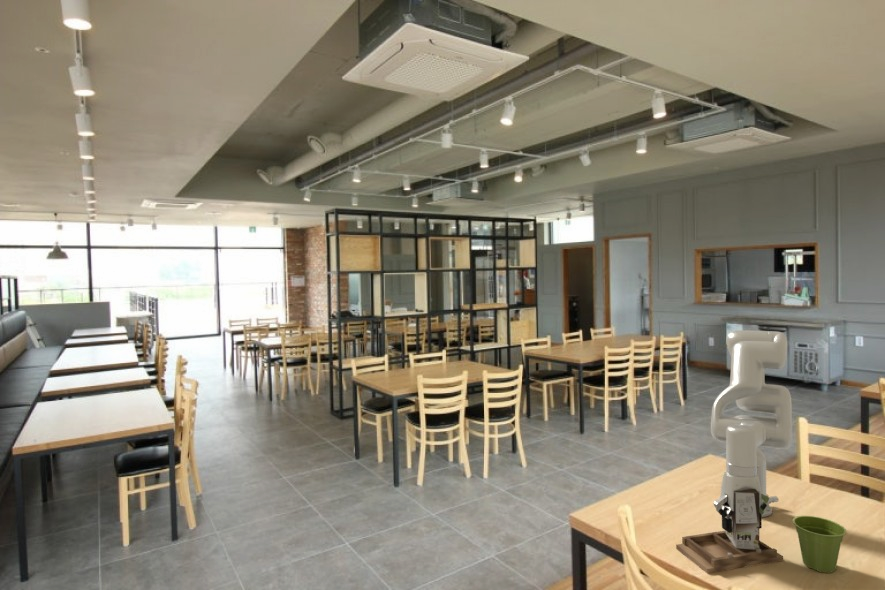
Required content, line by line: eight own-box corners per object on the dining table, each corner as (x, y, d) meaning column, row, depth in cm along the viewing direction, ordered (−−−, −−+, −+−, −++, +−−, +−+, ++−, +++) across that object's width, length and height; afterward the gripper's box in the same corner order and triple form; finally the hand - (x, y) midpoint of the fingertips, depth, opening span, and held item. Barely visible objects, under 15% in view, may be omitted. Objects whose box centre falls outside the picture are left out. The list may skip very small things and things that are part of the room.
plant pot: (858, 574, 138) (858, 532, 138) (820, 581, 136) (820, 538, 135) (817, 551, 150) (817, 512, 149) (782, 557, 147) (782, 518, 147)
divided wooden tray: (747, 537, 158) (746, 524, 158) (783, 560, 146) (783, 546, 145) (676, 548, 154) (676, 535, 153) (707, 573, 141) (707, 558, 141)
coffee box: (760, 550, 145) (760, 493, 144) (735, 548, 146) (734, 492, 146) (748, 534, 154) (747, 480, 153) (724, 532, 155) (724, 479, 155)
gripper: (756, 461, 155) (757, 518, 155) (705, 467, 151) (706, 526, 152) (778, 470, 147) (778, 530, 148) (724, 477, 144) (724, 538, 145)
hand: (741, 528), depth 150 cm, fingers open, 9 cm apart
